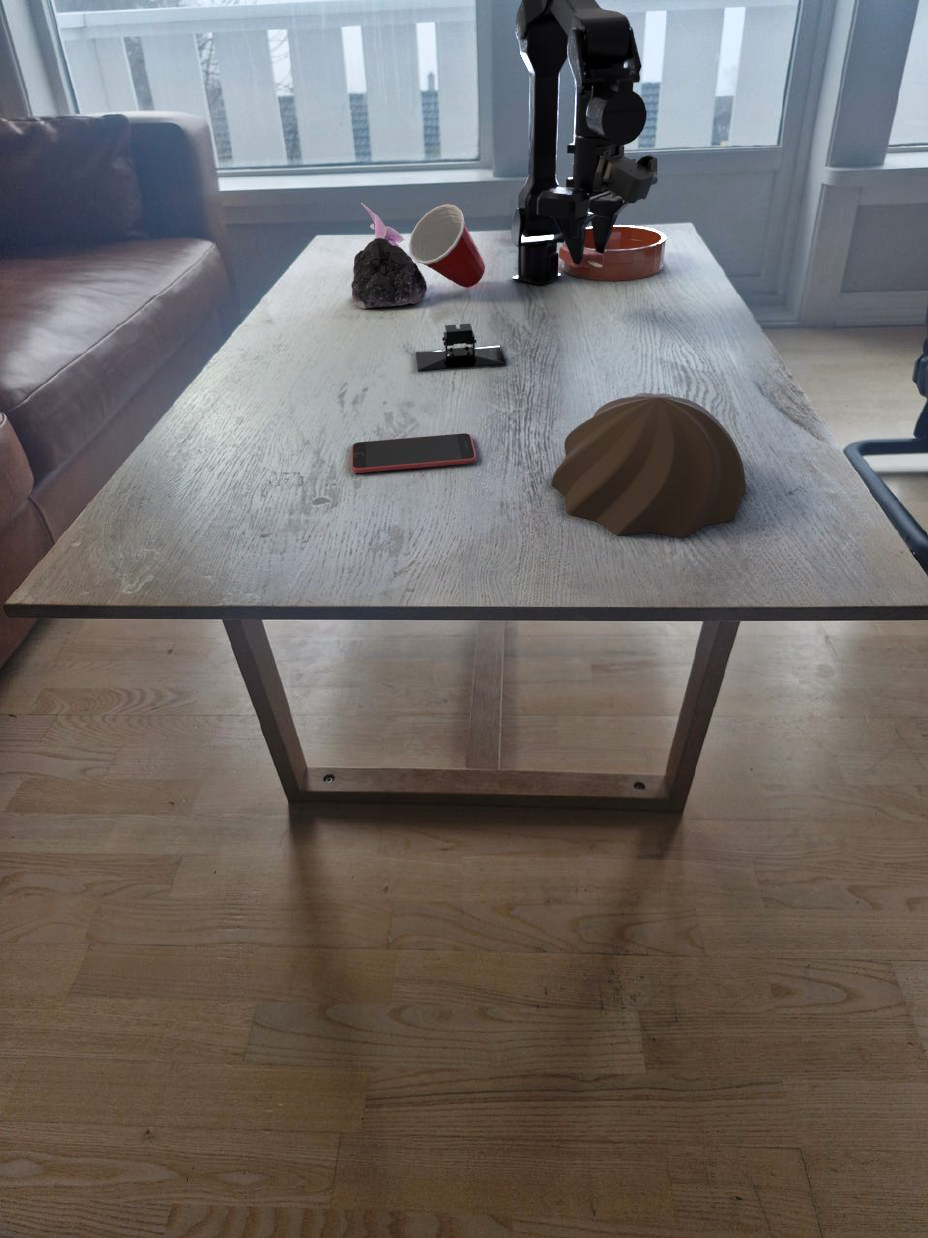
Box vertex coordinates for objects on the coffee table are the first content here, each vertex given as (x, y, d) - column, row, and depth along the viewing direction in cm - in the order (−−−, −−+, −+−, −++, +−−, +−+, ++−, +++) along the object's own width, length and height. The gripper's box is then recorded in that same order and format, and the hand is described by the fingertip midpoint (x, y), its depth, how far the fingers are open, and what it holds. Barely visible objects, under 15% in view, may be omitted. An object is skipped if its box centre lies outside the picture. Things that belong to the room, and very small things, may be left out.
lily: (403, 273, 153) (419, 221, 150) (344, 250, 151) (359, 197, 148) (401, 277, 164) (416, 229, 162) (346, 255, 162) (360, 206, 159)
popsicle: (585, 260, 109) (555, 244, 122) (584, 273, 110) (554, 256, 123) (616, 259, 110) (583, 244, 122) (615, 273, 111) (582, 256, 123)
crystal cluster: (408, 318, 131) (409, 253, 125) (333, 305, 134) (332, 241, 128) (436, 300, 141) (439, 239, 135) (367, 289, 144) (366, 229, 139)
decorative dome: (756, 543, 74) (778, 445, 68) (543, 531, 77) (545, 435, 71) (737, 449, 89) (754, 361, 82) (559, 442, 92) (562, 356, 86)
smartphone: (351, 441, 92) (470, 431, 93) (352, 446, 93) (470, 436, 94) (350, 469, 87) (477, 458, 88) (351, 474, 87) (477, 463, 88)
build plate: (499, 348, 117) (499, 316, 114) (506, 367, 111) (506, 333, 108) (415, 354, 116) (413, 321, 113) (418, 372, 110) (415, 339, 107)
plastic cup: (496, 233, 139) (461, 190, 129) (499, 287, 136) (463, 248, 126) (444, 256, 144) (406, 216, 134) (446, 308, 142) (407, 272, 132)
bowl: (542, 270, 147) (543, 241, 144) (596, 248, 158) (598, 221, 155) (629, 286, 137) (631, 255, 134) (680, 261, 148) (684, 232, 145)
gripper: (610, 149, 96) (601, 283, 106) (684, 127, 107) (670, 251, 117) (535, 143, 102) (533, 271, 112) (613, 123, 113) (605, 241, 122)
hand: (588, 258), depth 115 cm, fingers closed on popsicle, 6 cm apart
